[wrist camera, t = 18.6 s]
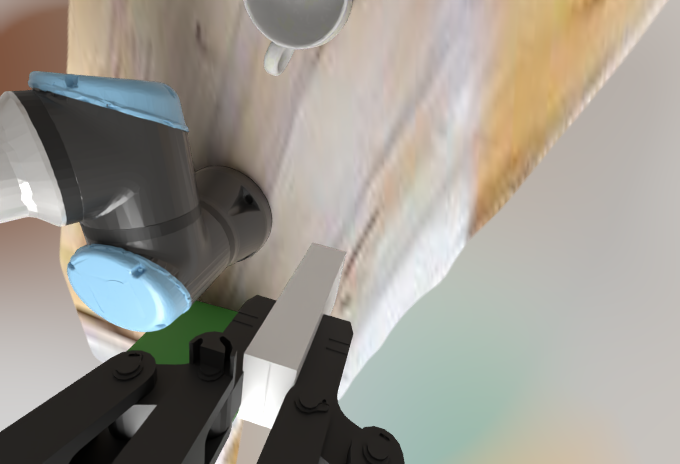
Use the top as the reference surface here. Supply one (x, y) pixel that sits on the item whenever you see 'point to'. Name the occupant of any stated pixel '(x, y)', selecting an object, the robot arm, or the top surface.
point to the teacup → (296, 26)
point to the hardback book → (184, 333)
